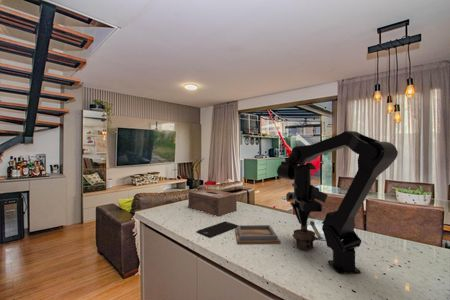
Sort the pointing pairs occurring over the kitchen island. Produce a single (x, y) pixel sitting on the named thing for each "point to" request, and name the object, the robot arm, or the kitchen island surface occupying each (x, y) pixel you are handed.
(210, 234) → the cell phone
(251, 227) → the locating frame
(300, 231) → the industrial component
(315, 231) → the claw hammer
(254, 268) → the kitchen island surface
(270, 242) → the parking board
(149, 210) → the kitchen island surface
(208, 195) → the tissue box cover
